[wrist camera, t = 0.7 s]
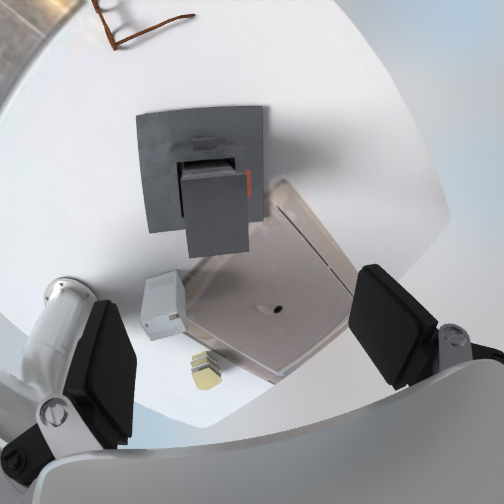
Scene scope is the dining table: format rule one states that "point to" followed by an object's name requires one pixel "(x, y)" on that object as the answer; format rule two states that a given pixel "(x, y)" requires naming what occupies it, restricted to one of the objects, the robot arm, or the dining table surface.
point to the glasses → (134, 34)
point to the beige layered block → (205, 371)
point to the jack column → (214, 208)
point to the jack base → (197, 156)
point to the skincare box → (164, 306)
